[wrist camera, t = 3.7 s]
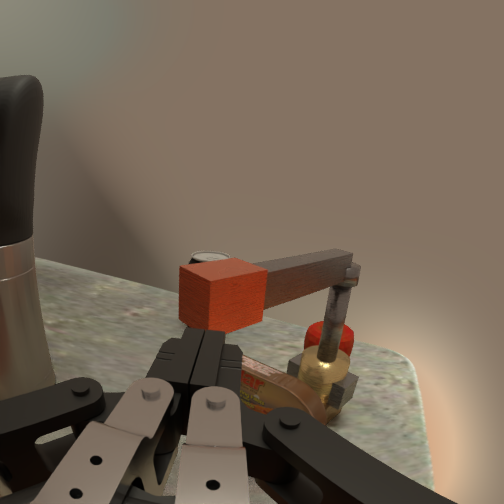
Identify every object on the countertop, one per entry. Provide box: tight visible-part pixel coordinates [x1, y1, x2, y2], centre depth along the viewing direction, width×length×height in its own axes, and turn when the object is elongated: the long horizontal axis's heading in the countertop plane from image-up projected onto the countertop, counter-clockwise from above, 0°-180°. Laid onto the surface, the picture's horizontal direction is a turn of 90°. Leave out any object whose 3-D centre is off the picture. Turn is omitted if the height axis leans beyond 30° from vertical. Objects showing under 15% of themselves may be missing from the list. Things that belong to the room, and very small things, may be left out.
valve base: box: [287, 285, 359, 424], centre depth 30 cm, size 7×5×15 cm
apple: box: [304, 321, 354, 357], centre depth 37 cm, size 6×6×8 cm
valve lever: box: [179, 249, 361, 334], centre depth 22 cm, size 18×3×3 cm, turn 135°
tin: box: [240, 355, 327, 426], centre depth 26 cm, size 15×3×8 cm, turn 53°
